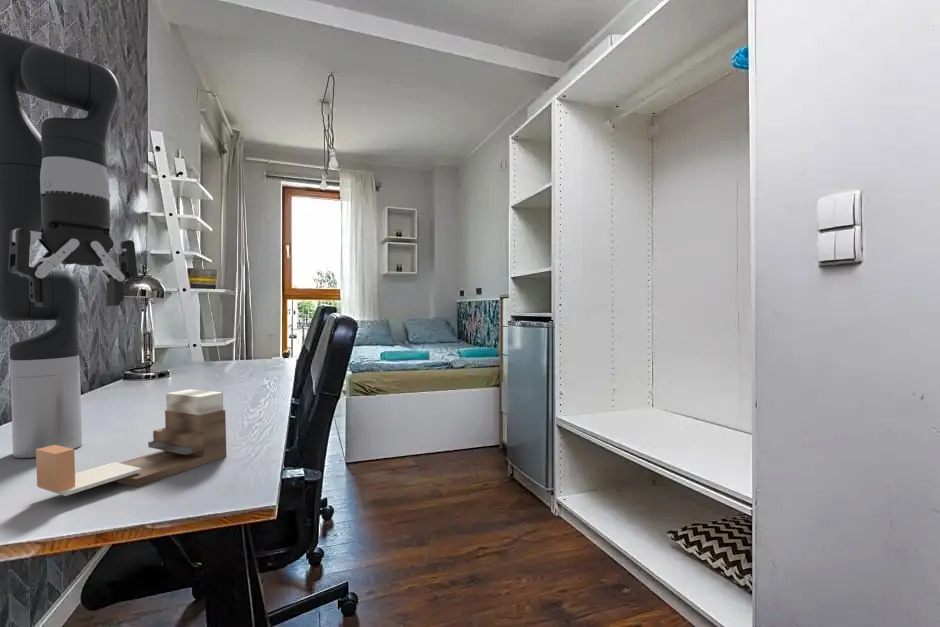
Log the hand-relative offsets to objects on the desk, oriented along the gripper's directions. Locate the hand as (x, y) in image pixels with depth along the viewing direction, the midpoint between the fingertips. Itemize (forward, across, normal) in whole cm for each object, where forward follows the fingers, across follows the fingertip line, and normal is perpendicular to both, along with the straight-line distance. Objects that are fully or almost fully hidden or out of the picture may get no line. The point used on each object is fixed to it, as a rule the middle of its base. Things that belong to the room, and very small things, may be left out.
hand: (79, 306), depth 64 cm
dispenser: (+26, -10, +4) cm, 28 cm away
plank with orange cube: (+25, +1, +4) cm, 25 cm away
